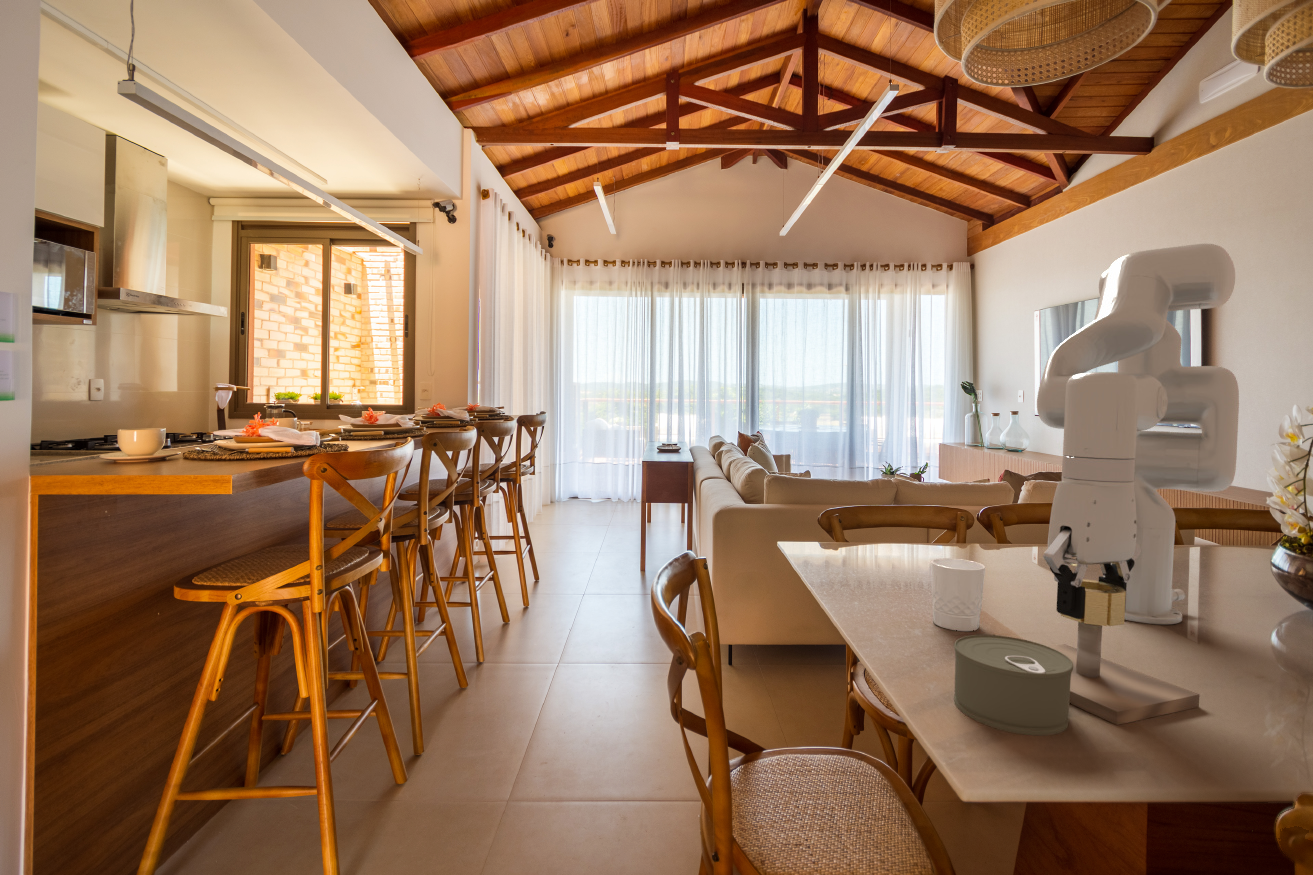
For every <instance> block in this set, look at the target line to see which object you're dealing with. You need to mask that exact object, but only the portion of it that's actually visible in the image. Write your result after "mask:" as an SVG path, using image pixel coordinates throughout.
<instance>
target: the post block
mask: <svg viewBox="0 0 1313 875" xmlns="http://www.w3.org/2000/svg"><path fill="white" fill-rule="evenodd" d="M1077 622H1078V621H1077ZM1102 633H1103V626H1101V625H1093V624H1086V623H1084V622H1078V624H1077V641H1076V642H1077V643H1076V645H1077V646H1076V647H1077V648H1076V647H1073V646H1070V645H1068V644H1066V643H1065V644H1058V645H1052V646H1049V647H1050V648H1052V649H1055V650H1057V651H1059V652H1061V653H1062V654H1064V655H1066V656H1067V657H1068V658H1069V659H1070V660H1071V661H1072V663H1073V671H1072V672H1071V682H1070V698H1069V704H1070V703H1071V704H1070V705H1073V706H1074V707H1077V708H1079V709H1081V710H1083V711H1085V712H1087V713H1090V714H1092V715H1095V716H1096V717H1098V718H1101V719H1102V720H1105V721H1107V722H1110V723H1111V724H1114V725H1116V726H1118V725H1123V724H1128V723H1132V722H1137V721H1142V720H1145V719H1150V718H1151V719H1152V718H1155V717H1159V716H1163V715H1164V716H1165V715H1169V714H1173V713H1177V712H1183V711H1186V710H1191V709H1195V708H1199V707H1200V696H1201V695H1200V693H1197V692H1195V691H1192V690H1189V689H1186V688H1183V687H1181V686H1178V685H1177V684H1176V685H1175V684H1173V683H1170V682H1167V681H1164V680H1162V679H1159V678H1156V677H1154V676H1150V675H1148V674H1147V673H1143V672H1141V671H1137V670H1136V669H1135V670H1134V669H1132V668H1130V667H1127V666H1124V665H1122V664H1119V663H1116V662H1113V661H1111V660H1108V659H1106V658H1103V657H1102V636H1103V634H1102Z"/></svg>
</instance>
